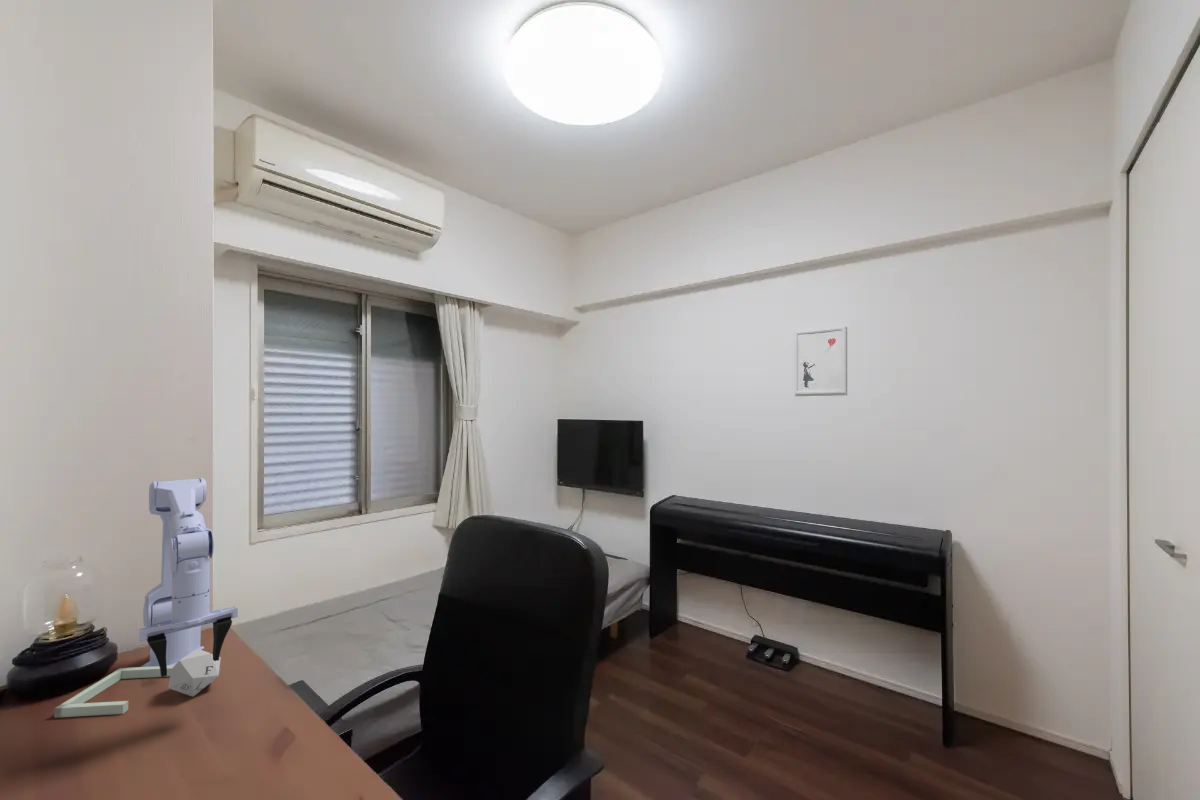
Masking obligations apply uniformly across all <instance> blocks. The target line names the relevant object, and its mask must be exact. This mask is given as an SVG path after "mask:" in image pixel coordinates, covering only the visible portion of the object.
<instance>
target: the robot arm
mask: <svg viewBox="0 0 1200 800" xmlns="http://www.w3.org/2000/svg"><path fill="white" fill-rule="evenodd" d="M207 488H208V487H207V480H206V479H205V478H204V477H199V478H190V479H186V478H185V479H175V480H163V481H156V480H153V481H152V482H151V483H150V484H149V487H148V511H149V513H150V514H151V515H156V516H159V517H160V519H161V522H162V535H161V536H162V538H161V539H162V542H161V544H162V545H161V549H162V550H161V571H160V572H161V574H160V577H161V578H160V583H158V585H156V586H155V587H154V588H152V589H150V590H149V591H148V592H147V593H146V595H145V596H144V603H143V610H142V611H143V613H142V614H143V617H142V618H143V621H142V622H143V628H139V630H138V641H139V642H143V641H146V642H147V643H148V645H149V647H150V651H149V661H147V662H146V663H144V664H143V665H141V666H140V667H153V666H159V667H160V673H161V677H160V678H164V676H167V666H174V665H176V664H177V663H178V662H179V660H181V659H182V658H184V657H186V656H187V655H189V654H190V653H192V652H193V651H195V650H196V649H201V650H204V649H205V646H201V636H202V635H201V630H202V626H204V625H209V624H212V630H213V631H212V633H213V644H212V645H213V646H212V654H213V660H214V661H217V660H219V657H221V656H220V655H221V650H222V647H223V644H224V641H225V639H226V636H227V635H228V632H229V630H230V629H231V627H232V624H233V620H232V619H235V618H238V617H239V607H238V606H237V605H236V606H232V607H226V608H221V609H217V610H211V560H210V559H212V558H213V556H214V555H213V554H214V550H215V537H214V534H213V530H212V529H210V528H207V525H206V521H205V518H204V515H203V514H202V513H201V512H200V511H198V510H200V509H201V508H202V506H203V505H204V503H205V502H206V499H207V493H208V492H207V490H208V489H207ZM208 557H209V558H210V559H209V558H208Z"/></svg>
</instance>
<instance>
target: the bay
mask: <svg viewBox="0 0 1200 800" xmlns="http://www.w3.org/2000/svg"><path fill="white" fill-rule="evenodd" d="M174 666H175V665H174ZM174 666H167V676H164V677H165V678H166V677H170V675H171V671H172V668H173V667H174ZM164 677H163V678H164ZM141 678H142V679H143V678H145V679H146V678H162V677H161V673H160V667H159V666H153V667H141V666H139V667H137V666H136V667H119V668H118V669H116V670H114V671H113V672H112V673H110V674H108V675H107V676H105V677H103V678H101V679H100V680H99V681H97V682H94V683H93V684H92V685H90V686H88V687H87V688H85V689H83V690H82V691H81V692H79V693H77V694H76V695H74V696H72V697H71V698H69V699H67V700H66V701H64V702H62V703H61V704H60V705H57V706H56V707H54V715H53V717H54V718H55V719H56V718H57V719H58V718H73V717H74V718H75V717H89V716H91V717H92V716H107V715H109V716H110V715H123V714H125V713H126V712H127V711H129V700H118V701H117V700H116V701H103V702H102V701H101V702H100V701H99V702H87V701H89V700H91V699H92V698H93V697H95V696H97V695H98V694H100V693H102V692H103V691H105V690H106V689H108V688H109V687H111V686H113V685H114V684H115V683H116V684H117V682H119V681H120V680H126V679H141Z"/></svg>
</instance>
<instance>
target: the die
mask: <svg viewBox="0 0 1200 800" xmlns="http://www.w3.org/2000/svg"><path fill="white" fill-rule="evenodd" d="M221 659H222V657H221V656H219V660H217V661H214V660H213V653H210V652H208V651H205V650H204V649H202V650H201V649H196V650H195V651H193V652H192V653H190V654H189V655H187V656H186V657H184V658H182V659H181V660H179V662H178V663H177V664H176V665H175V666H174V667H173V668H172V671H171V675H170V676H169V680H168V686H167V688H168V689H169V690H170V689H171V690H173V691H176V692H178V693H181V694H184V695H187V696H190V697H192V698H193V697H194V696H196V695H197V694H199V693H200V692H201V691H203V689H205V688H206V687H208V686H209V685H210V684H211V683H213V681H215V680H216V679H217V678H218V677H219V675H220V668H221Z"/></svg>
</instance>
